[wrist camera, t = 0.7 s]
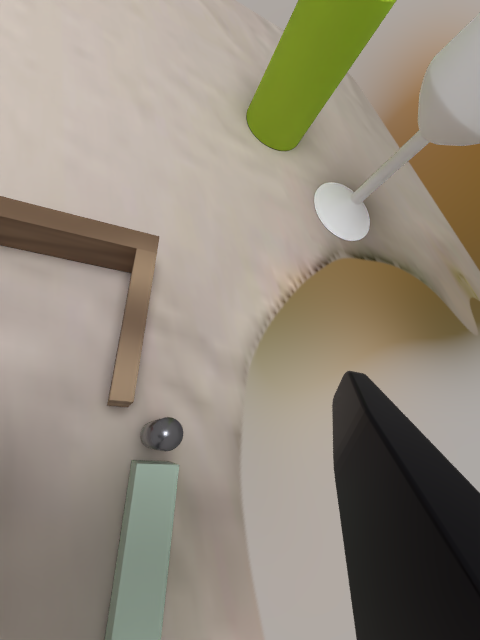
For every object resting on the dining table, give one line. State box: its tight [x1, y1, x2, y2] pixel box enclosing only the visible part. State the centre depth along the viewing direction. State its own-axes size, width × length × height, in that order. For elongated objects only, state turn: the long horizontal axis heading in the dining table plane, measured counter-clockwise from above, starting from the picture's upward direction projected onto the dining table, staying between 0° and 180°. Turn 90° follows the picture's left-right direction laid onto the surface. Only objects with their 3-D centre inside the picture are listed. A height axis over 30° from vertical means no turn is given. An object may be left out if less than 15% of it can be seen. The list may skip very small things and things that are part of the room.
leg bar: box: [105, 460, 179, 640], centre depth 17 cm, size 10×2×3 cm, turn 177°
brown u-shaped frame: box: [0, 196, 159, 407], centre depth 18 cm, size 12×13×4 cm
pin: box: [141, 417, 183, 451], centre depth 19 cm, size 2×2×4 cm
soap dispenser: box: [247, 0, 396, 151], centre depth 25 cm, size 6×7×20 cm
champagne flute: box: [314, 13, 480, 241], centre depth 23 cm, size 7×7×24 cm
